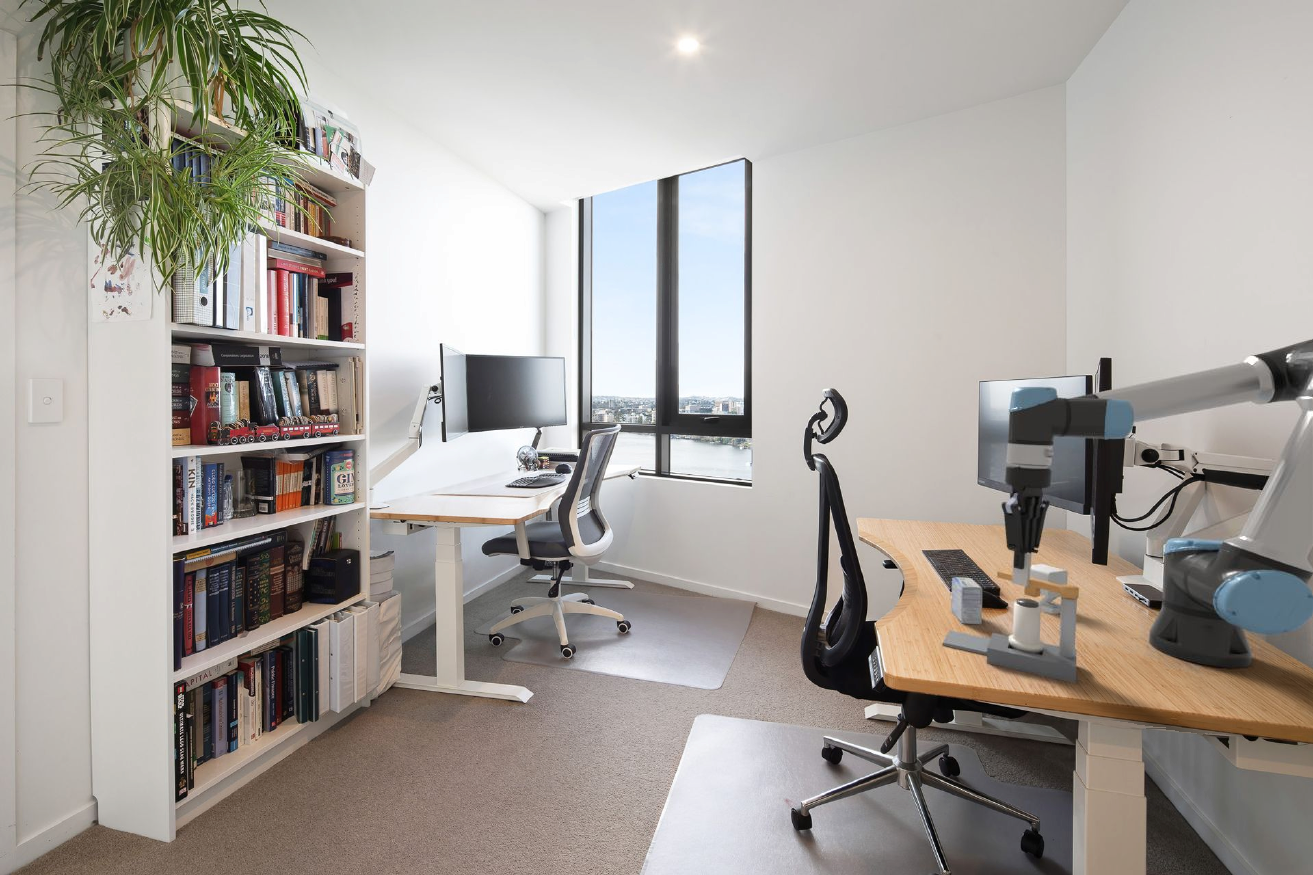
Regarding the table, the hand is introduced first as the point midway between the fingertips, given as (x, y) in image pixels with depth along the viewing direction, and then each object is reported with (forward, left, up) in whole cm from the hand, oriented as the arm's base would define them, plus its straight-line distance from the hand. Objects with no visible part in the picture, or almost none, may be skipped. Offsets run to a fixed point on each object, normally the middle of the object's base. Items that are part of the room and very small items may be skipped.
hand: (1020, 584), depth 114 cm
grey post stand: (-2, +3, -15) cm, 15 cm away
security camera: (-3, -36, -15) cm, 39 cm away
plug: (-1, +2, -15) cm, 15 cm away
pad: (+9, -1, -15) cm, 17 cm away
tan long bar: (-3, 0, -2) cm, 3 cm away
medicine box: (+12, -17, -15) cm, 25 cm away
